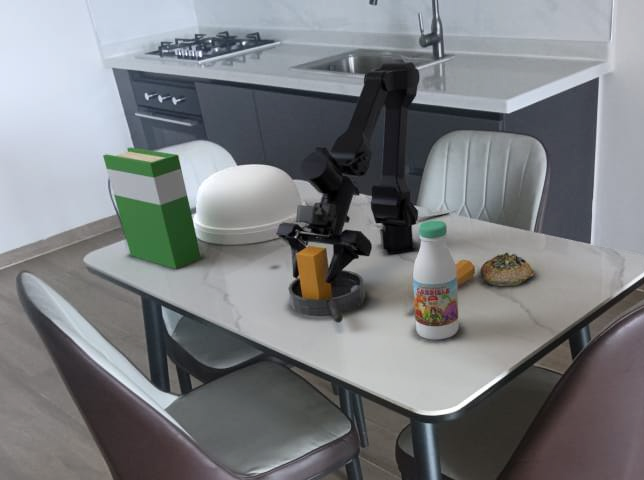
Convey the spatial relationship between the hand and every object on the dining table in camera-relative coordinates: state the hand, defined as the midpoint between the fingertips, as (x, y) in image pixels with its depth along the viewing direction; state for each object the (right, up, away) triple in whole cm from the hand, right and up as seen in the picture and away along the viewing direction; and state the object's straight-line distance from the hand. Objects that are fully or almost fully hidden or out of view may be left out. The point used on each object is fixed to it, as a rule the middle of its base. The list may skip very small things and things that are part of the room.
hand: (310, 280), depth 141 cm
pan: (+3, -3, +7) cm, 8 cm away
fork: (+22, +21, +44) cm, 53 cm away
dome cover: (-21, +22, +52) cm, 60 cm away
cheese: (+1, -5, +4) cm, 6 cm away
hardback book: (-39, +11, +36) cm, 54 cm away
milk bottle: (+24, -11, -7) cm, 27 cm away
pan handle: (+5, -7, -3) cm, 9 cm away
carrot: (+25, -2, +6) cm, 26 cm away
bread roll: (+39, +2, +11) cm, 41 cm away
